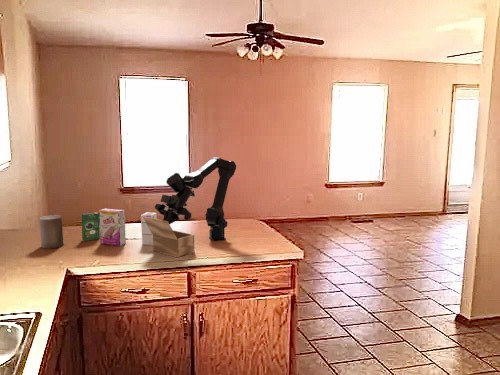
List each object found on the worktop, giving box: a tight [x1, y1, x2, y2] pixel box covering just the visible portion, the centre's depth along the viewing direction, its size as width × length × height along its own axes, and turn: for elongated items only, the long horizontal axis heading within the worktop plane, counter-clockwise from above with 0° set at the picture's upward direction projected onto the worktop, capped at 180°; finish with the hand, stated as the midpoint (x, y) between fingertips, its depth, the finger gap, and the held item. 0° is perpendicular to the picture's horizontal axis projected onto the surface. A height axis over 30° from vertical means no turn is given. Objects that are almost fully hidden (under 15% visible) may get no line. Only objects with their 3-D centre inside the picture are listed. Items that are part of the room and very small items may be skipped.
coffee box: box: [81, 211, 100, 242], centre depth 239 cm, size 8×3×13 cm, turn 129°
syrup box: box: [140, 211, 158, 246], centre depth 232 cm, size 6×6×14 cm
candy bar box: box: [98, 208, 127, 247], centre depth 230 cm, size 11×5×16 cm, turn 71°
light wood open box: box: [152, 229, 196, 258], centre depth 219 cm, size 10×16×8 cm, turn 51°
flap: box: [143, 216, 177, 240], centre depth 212 cm, size 10×16×1 cm
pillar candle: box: [39, 213, 64, 249], centre depth 227 cm, size 10×10×15 cm
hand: (162, 227), depth 213 cm, fingers closed
